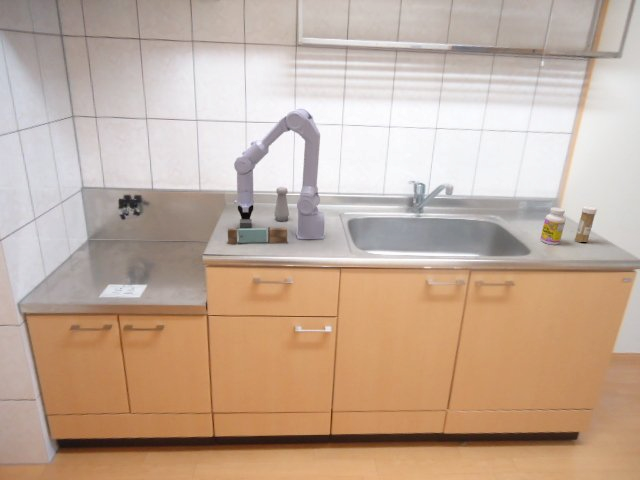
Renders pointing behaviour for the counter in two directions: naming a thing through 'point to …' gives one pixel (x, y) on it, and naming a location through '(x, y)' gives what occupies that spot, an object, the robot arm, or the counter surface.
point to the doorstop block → (245, 223)
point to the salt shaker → (281, 205)
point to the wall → (273, 235)
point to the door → (252, 235)
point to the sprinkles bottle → (585, 223)
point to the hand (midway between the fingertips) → (245, 224)
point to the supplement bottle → (553, 226)
